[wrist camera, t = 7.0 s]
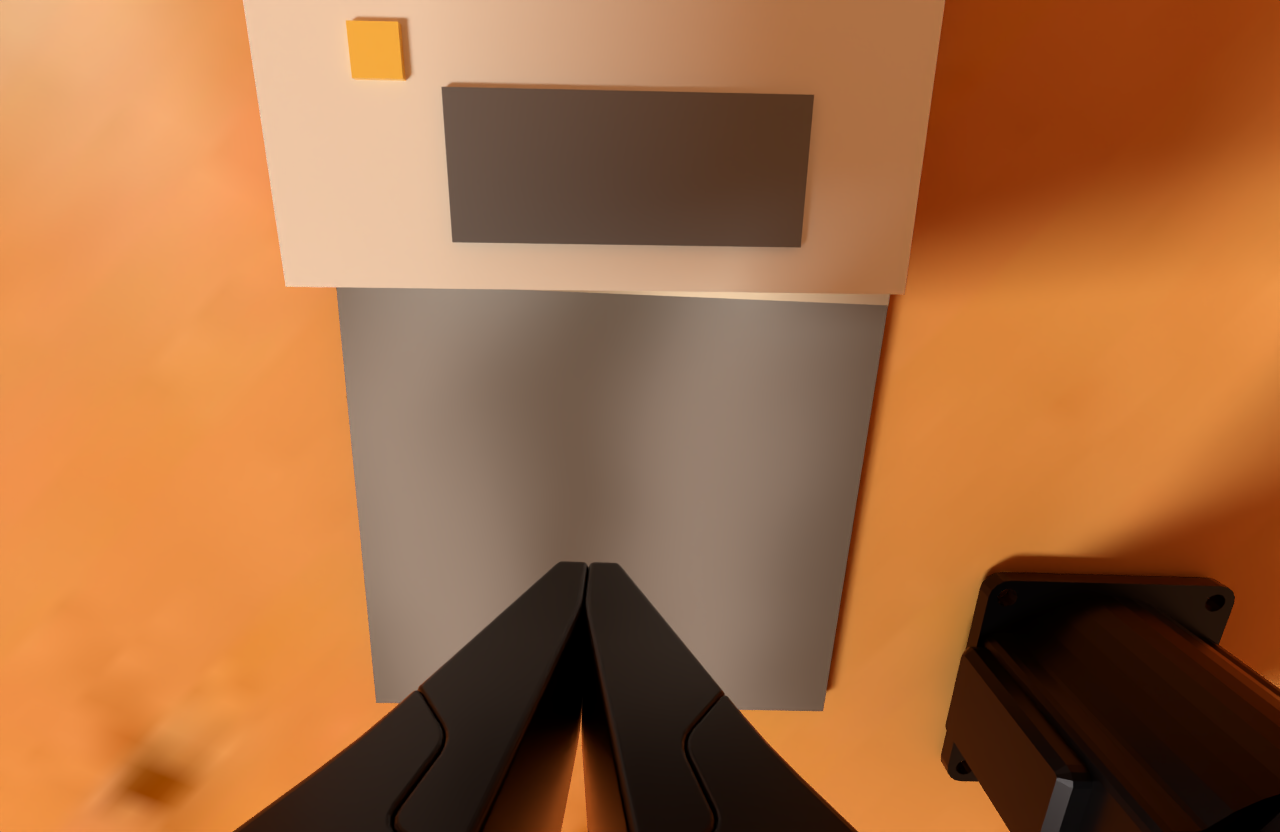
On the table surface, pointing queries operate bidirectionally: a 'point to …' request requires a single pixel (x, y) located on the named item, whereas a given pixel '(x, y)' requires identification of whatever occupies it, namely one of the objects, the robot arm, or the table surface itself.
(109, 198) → the table surface
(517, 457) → the subfloor panel
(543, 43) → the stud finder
